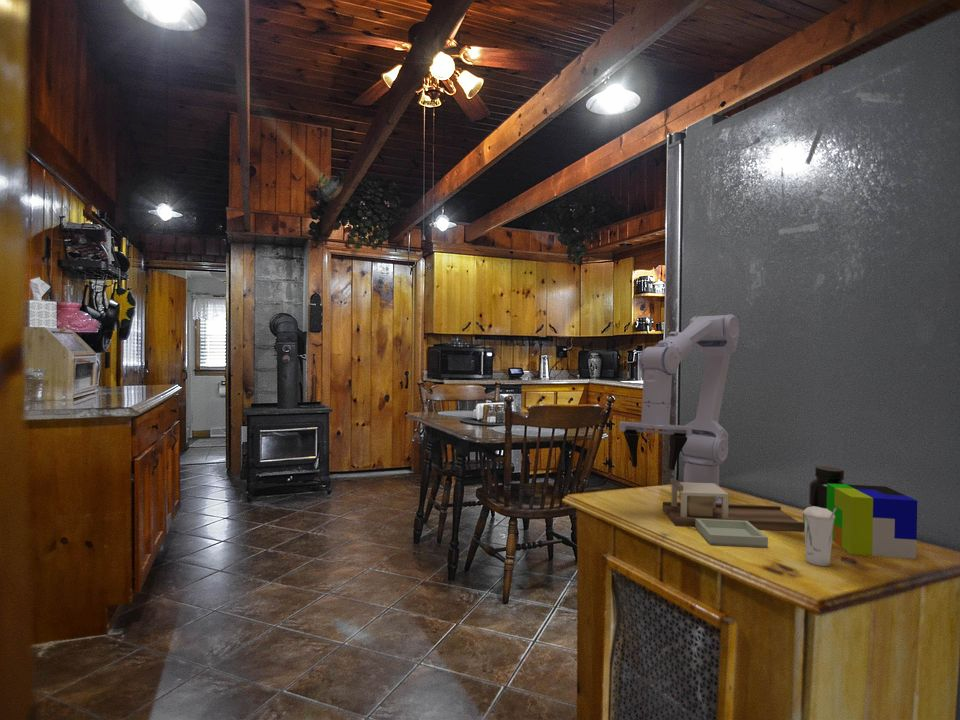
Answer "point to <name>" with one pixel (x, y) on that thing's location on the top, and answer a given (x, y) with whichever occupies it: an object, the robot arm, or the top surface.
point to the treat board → (741, 516)
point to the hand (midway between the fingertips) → (652, 467)
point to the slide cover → (698, 490)
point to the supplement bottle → (823, 484)
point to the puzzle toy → (873, 520)
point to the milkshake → (818, 534)
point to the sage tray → (731, 533)
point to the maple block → (700, 505)
